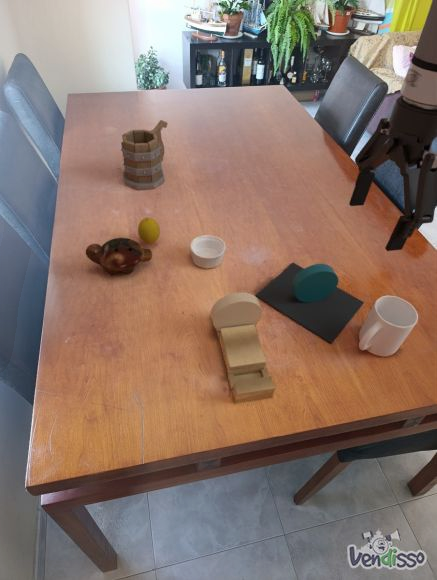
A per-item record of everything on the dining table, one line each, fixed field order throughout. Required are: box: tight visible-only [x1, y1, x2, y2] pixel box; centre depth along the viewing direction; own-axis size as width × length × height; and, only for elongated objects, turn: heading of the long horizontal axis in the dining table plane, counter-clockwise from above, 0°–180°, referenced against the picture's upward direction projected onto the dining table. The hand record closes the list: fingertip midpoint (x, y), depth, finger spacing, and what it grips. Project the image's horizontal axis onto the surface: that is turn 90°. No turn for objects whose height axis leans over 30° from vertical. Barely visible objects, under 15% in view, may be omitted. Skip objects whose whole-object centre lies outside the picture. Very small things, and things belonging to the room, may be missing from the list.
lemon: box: [137, 217, 161, 245], centre depth 96 cm, size 6×6×8 cm
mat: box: [255, 262, 365, 345], centre depth 88 cm, size 20×16×1 cm
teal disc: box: [292, 263, 339, 302], centre depth 84 cm, size 2×10×10 cm, turn 101°
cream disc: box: [210, 292, 263, 331], centre depth 74 cm, size 2×10×10 cm, turn 101°
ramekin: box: [189, 234, 227, 269], centre depth 94 cm, size 9×9×4 cm
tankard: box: [120, 119, 168, 191], centre depth 117 cm, size 20×13×15 cm, turn 148°
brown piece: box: [85, 237, 153, 277], centre depth 89 cm, size 10×15×8 cm, turn 111°
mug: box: [358, 295, 419, 357], centre depth 76 cm, size 12×8×10 cm
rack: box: [215, 324, 276, 405], centre depth 74 cm, size 20×7×5 cm, turn 11°
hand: (373, 225), depth 67 cm, fingers open, 13 cm apart
